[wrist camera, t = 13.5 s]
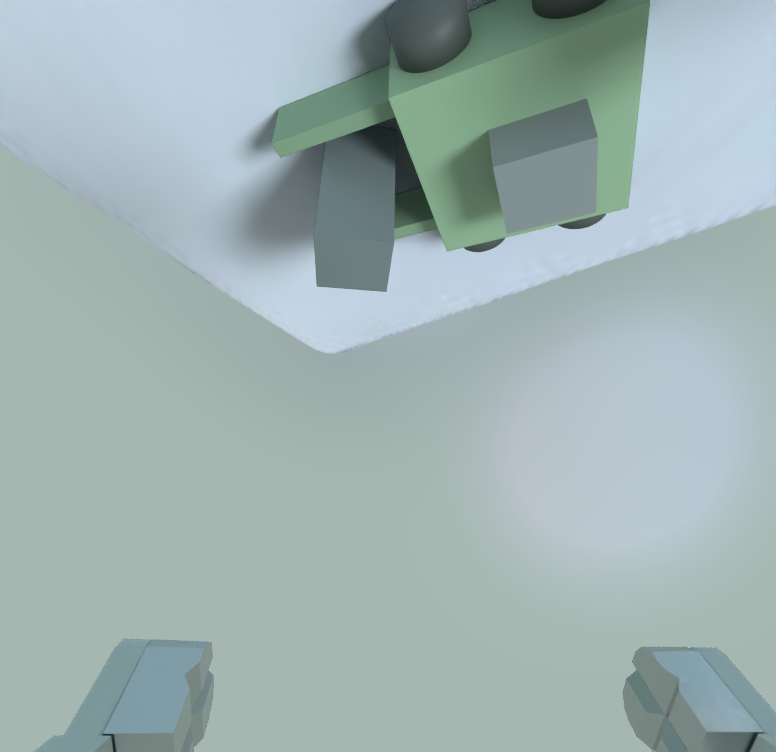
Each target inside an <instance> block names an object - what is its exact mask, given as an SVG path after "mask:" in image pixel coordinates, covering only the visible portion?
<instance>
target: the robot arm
mask: <svg viewBox="0 0 776 752" xmlns="http://www.w3.org/2000/svg"><path fill="white" fill-rule="evenodd" d="M212 657H213V655H212V643H211V642H200V641H178V640H154V639H153V640H145V639H123V640H122V641H121V642H120V643H119V644H118V645H117V646H116V647H115V648H114V650H113V651H112V653H111V655H110V657H109V658H108V660H107V662H106V664H105V665H104V667H103V669H102V670H101V672H100V674H99V676H98V677H97V679H96V681H95V682H94V684H93V686H92V688H91V689H90V691H89V693H88V695H87V696H86V698H85V700H84V701H83V703H82V705H81V706H80V708H79V710H78V712H77V713H76V715H75V717H74V718H73V720H72V722H71V724H70V725H69V727H68V729H67V731H66V732H65V734H64V735H61V736H60V735H59V736H53V737H51V738H50V739H49V740H48V741H46V742H45V743H44V744H43V745H41V746H40V747H39V748H38V749H36V750H35V751H34V752H194V747H195V746H196V745H197V744H198V743H199V742H200V741H201V739H203V737H204V733H205V730H206V727H207V723H208V720H209V715H210V710H211V705H212V699H213V687H214V679H213V675H212V674H211V673H210V671H209V670H208V669H209V666H210V663H211V660H212ZM632 662H633V664H634V666H635V668H636V671H635V672H634V673H633V674H631V675H630V676H629V677H628V678H627V679H626V682H625V686H624V690H623V699H624V707H625V711H626V714H627V717H628V720H629V722H630V724H631V726H632V728H633V730H634V732H635V734H636V736H637V737H638V738H639V739H641V740H642V741H643V742H644V743H645V744H646V745H648V746H649V747H650V748H651V749H652V752H776V712H775V711H774V710H773V709H772V708H771V706H770V705H769V704H768V703H767V702H766V701H765V699H763V697H762V696H761V695H760V694H759V692H758V691H757V690H756V689H755V688H754V687H753V686H752V684H751V683H750V682H749V681H748V680H747V679H746V677H745V676H744V675H743V674H742V673H741V672H740V671H739V669H738V668H737V667H736V666H735V665H734V664H733V663H732V661H731V660H730V659H729V658H728V657H727V655H726V654H724V653H723V652H722V651H720V650H718V649H717V648H695V647H691V648H687V647H641V648H640V649H638V650H637V651H636V652H635V655H634V657H633V660H632Z"/></svg>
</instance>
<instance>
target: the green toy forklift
mask: <svg viewBox="0 0 776 752" xmlns="http://www.w3.org/2000/svg"><path fill="white" fill-rule="evenodd" d="M649 7H650V1H649V0H496V1H494V2H491V3H489V4H486V5H484V6H482V7H479V8H477V9H474V10H472V11H469V12H468V10H467V5H466V0H398V1H397V2H396V3H395V4H394V5H393V6H392V7H391V8H390V10H389V11H388V13H387V15H386V18H385V26H386V29H387V31H388V34H389V37H390V40H391V44H390V64H389V65H387V66H384V67H382V68H379V69H376V70H374V71H371V72H369V73H366V74H364V75H361V76H359V77H356V78H354V79H351V80H349V81H346V82H344V83H341V84H338V85H336V86H333V87H331V88H328V89H326V90H323V91H321V92H318V93H316V94H313V95H311V96H308V97H305V98H303V99H300V100H298V101H295V102H293V103H290V104H288V105H285V106H283V107H280V108H279V110H278V114H277V119H276V124H275V129H274V134H273V138H272V143H271V144H272V146H273V147H274V149H275V150H276V152H277V153H278V155H279V156H280V158H281V157H284V156H287V155H290V154H293V153H295V152H298V151H301V150H304V149H307V148H310V147H312V146H315V145H318V144H321V143H324V142H327V141H330V140H332V139H335V138H338V137H341V136H344V135H347V134H349V133H352V132H355V131H358V130H361V129H364V128H366V127H369V126H372V125H375V124H378V123H381V122H383V121H386V120H389V119H392V118H395V117H396V119H397V122H398V125H399V127H400V130H401V133H402V135H403V138H404V140H405V143H406V146H407V148H408V151H409V154H410V156H411V159H412V161H413V164H414V167H415V169H416V172H417V174H418V177H419V180H420V182H421V185H422V187H421V188H417V189H414V190H410V191H407V192H404V193H400V194H397V195H395V214H394V239H397V238H401V237H405V236H409V235H413V234H417V233H421V232H424V231H428V230H432V229H436V228H438V230H439V232H440V235H441V237H442V240H443V243H444V245H445V248H446V250H447V251H451V250H455V249H460V248H465V249H466V250H469V251H472V252H483V251H487V250H490V249H492V248H494V247H496V246H498V245H499V244H500V243H501V242H502V241H503V240H504V239H505V238H506V237H510V236H514V235H518V234H522V233H526V232H530V231H535V230H539V229H543V228H547V227H551V226H555V225H559V226H561V227H564V228H568V229H581V228H585V227H589V226H591V225H593V224H595V223H597V222H599V221H600V220H601V219H602V218H603V217H604V216H605V215H606V213H610V212H614V211H618V210H622V209H626V208H628V205H629V195H630V186H631V177H632V167H633V158H634V148H635V139H636V129H637V120H638V111H639V101H640V92H641V82H642V73H643V63H644V54H645V45H646V35H647V26H648V16H649Z"/></svg>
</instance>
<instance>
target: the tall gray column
mask: <svg viewBox="0 0 776 752" xmlns="http://www.w3.org/2000/svg"><path fill="white" fill-rule="evenodd" d="M395 164H396V129H392V128H383V127H373V126H369V127H366V128H364V129H361V130H358V131H355V132H352V133H349V134H347V135H344V136H341V137H338V138H335V139H332V140H330V141H327V142H326V143H325V151H324V158H323V166H322V174H321V182H320V190H319V198H318V206H317V214H316V222H315V230H314V248H315V265H316V281H317V286H319V287H331V288H344V289H357V290H370V291H382V292H386V291H387V284H388V278H389V271H390V265H391V258H392V252H393V246H394V214H395Z"/></svg>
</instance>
